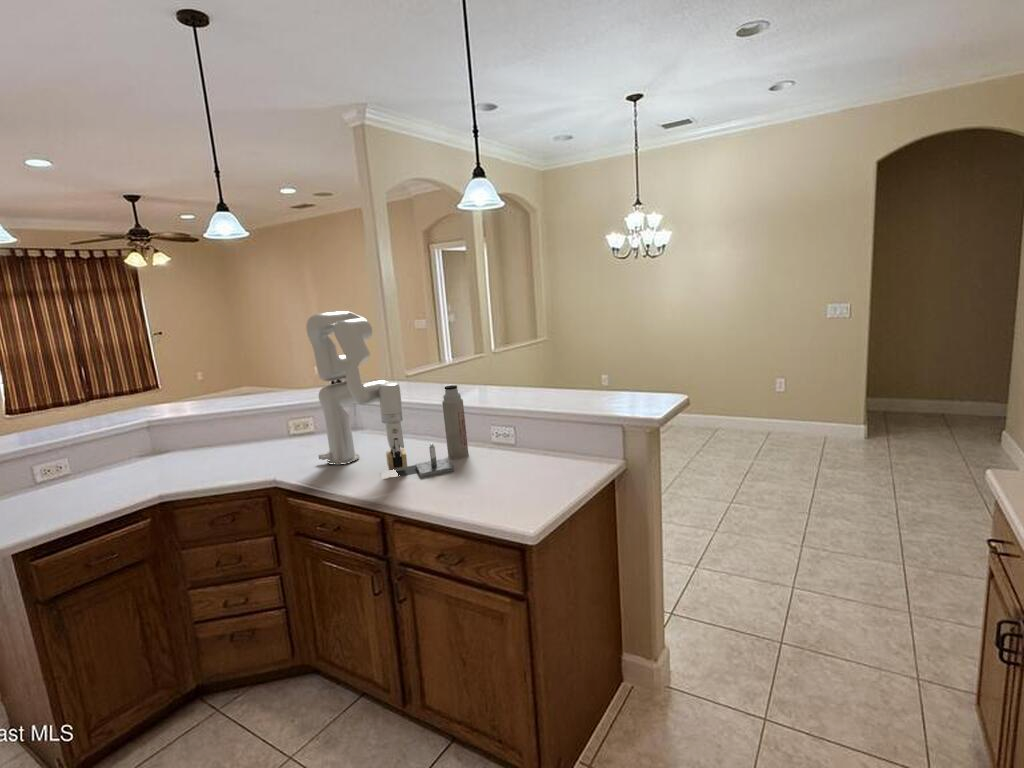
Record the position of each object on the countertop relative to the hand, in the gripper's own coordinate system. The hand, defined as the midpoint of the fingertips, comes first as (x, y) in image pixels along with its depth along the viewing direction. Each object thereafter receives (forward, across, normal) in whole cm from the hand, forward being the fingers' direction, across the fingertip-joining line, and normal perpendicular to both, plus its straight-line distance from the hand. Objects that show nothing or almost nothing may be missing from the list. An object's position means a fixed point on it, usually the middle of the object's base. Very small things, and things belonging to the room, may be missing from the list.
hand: (397, 463), depth 194 cm
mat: (+3, -1, -1) cm, 4 cm away
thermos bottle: (+3, +7, -25) cm, 26 cm away
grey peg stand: (+3, -6, -13) cm, 14 cm away
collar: (+1, 0, 0) cm, 1 cm away
